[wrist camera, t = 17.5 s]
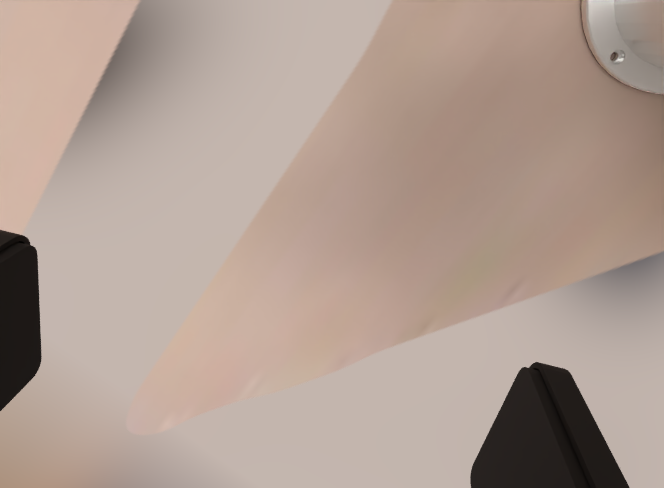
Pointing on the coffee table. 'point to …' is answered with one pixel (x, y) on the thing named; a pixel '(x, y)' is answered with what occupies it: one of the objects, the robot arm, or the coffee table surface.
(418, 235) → the coffee table surface
